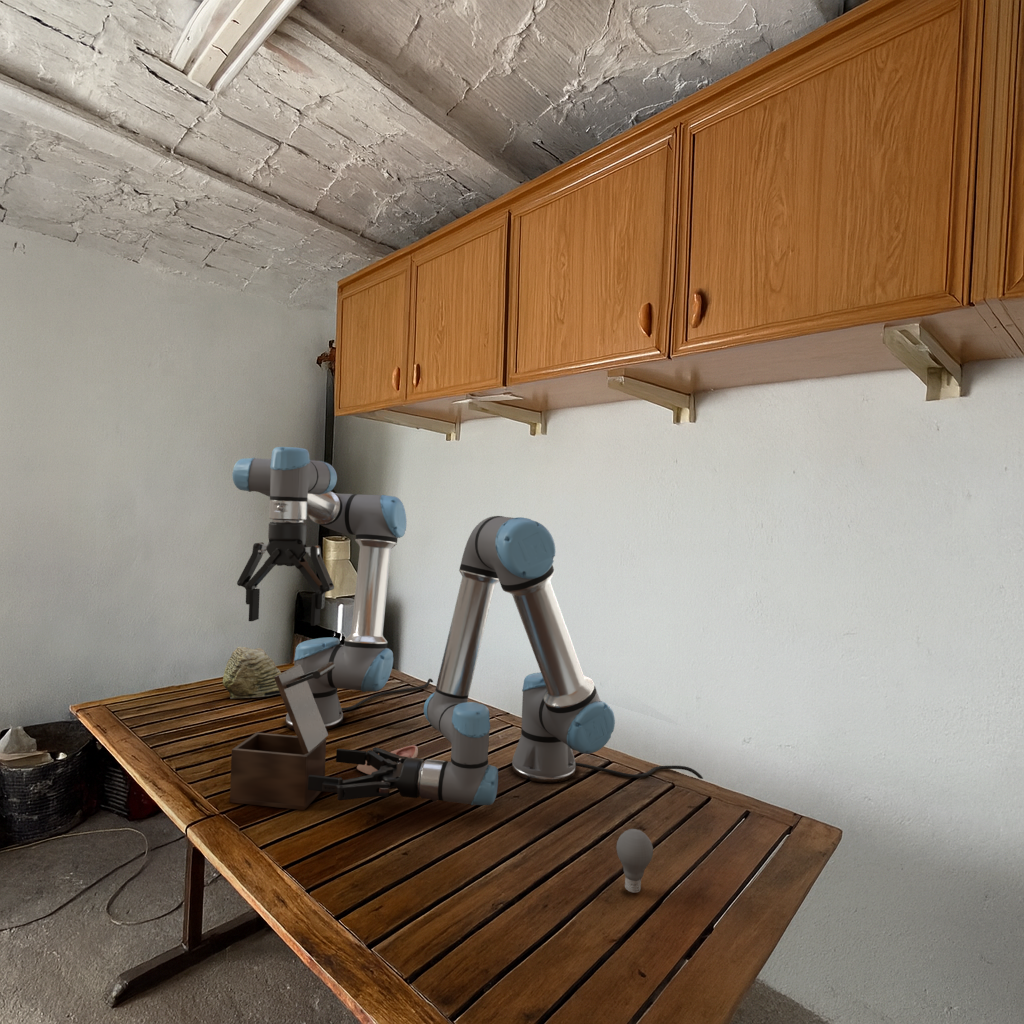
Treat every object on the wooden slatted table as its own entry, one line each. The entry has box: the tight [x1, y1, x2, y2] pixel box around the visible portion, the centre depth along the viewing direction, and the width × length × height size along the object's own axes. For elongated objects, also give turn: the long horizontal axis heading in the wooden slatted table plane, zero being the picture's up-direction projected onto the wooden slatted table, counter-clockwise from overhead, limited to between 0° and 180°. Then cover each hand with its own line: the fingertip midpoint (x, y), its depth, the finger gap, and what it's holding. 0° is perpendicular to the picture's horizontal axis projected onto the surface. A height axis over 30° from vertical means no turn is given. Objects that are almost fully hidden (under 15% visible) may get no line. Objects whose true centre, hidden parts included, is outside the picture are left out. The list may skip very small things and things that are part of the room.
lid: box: [274, 662, 335, 754], centre depth 132 cm, size 17×10×9 cm
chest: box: [229, 732, 327, 811], centre depth 134 cm, size 16×10×11 cm, turn 83°
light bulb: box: [615, 828, 654, 894], centre depth 106 cm, size 6×6×10 cm
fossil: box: [222, 646, 282, 699], centre depth 198 cm, size 9×18×15 cm, turn 132°
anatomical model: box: [356, 744, 419, 775], centre depth 149 cm, size 13×4×12 cm
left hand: (284, 622), depth 133 cm, fingers open, 13 cm apart
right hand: (323, 768), depth 132 cm, fingers open, 13 cm apart
